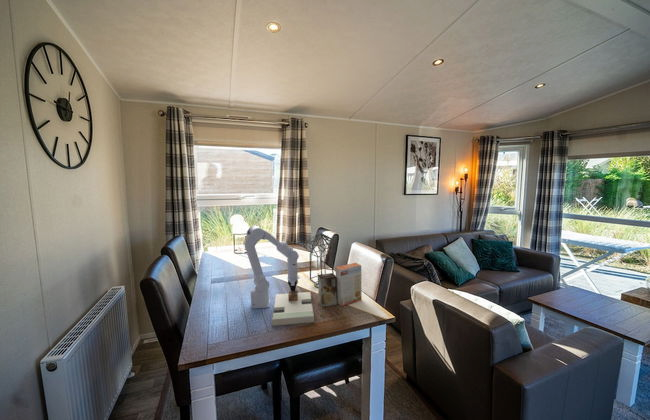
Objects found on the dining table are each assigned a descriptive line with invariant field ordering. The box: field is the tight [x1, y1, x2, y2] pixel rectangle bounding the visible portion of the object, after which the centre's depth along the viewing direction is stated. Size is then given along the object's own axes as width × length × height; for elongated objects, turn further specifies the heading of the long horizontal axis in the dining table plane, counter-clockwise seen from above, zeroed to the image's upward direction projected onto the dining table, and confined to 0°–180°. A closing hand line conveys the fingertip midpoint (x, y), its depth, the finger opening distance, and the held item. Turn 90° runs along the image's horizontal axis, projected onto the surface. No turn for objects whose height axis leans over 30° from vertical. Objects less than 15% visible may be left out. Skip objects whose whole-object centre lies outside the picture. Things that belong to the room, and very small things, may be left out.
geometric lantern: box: [304, 232, 337, 288], centre depth 156 cm, size 16×16×35 cm
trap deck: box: [271, 291, 315, 327], centre depth 131 cm, size 20×28×3 cm
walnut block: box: [288, 290, 299, 301], centre depth 137 cm, size 5×5×4 cm
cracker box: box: [335, 262, 363, 307], centre depth 136 cm, size 14×6×21 cm, turn 120°
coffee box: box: [317, 272, 338, 308], centre depth 135 cm, size 9×6×16 cm
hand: (293, 292), depth 144 cm, fingers closed
